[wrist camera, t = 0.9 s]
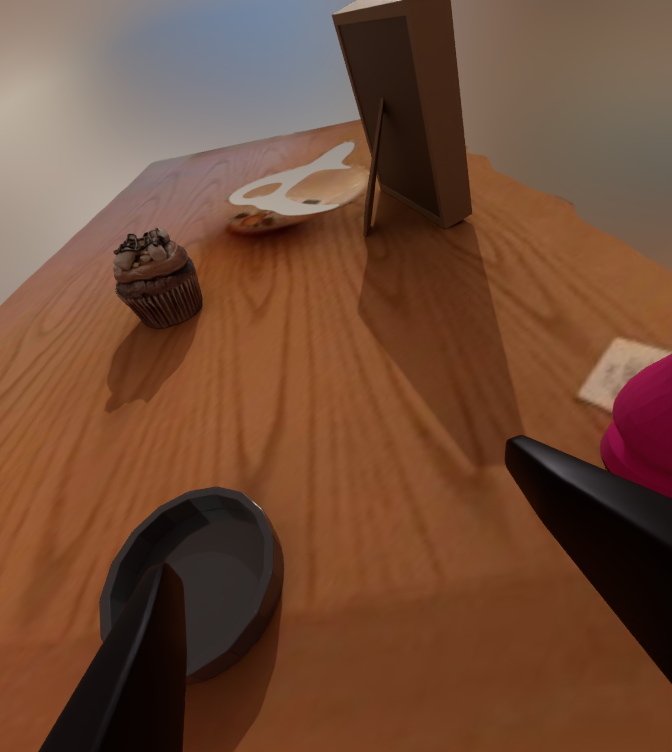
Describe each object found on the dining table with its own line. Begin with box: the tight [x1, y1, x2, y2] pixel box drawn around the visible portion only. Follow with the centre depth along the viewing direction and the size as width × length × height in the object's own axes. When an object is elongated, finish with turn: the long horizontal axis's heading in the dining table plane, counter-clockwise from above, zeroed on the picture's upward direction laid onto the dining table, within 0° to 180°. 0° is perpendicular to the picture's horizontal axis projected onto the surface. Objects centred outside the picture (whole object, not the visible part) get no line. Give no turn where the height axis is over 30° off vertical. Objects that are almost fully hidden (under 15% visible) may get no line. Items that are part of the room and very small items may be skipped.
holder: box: [99, 487, 284, 685], centre depth 22 cm, size 10×10×2 cm
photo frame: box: [332, 0, 472, 236], centre depth 51 cm, size 15×22×25 cm
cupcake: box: [113, 228, 202, 329], centre depth 44 cm, size 10×10×10 cm
